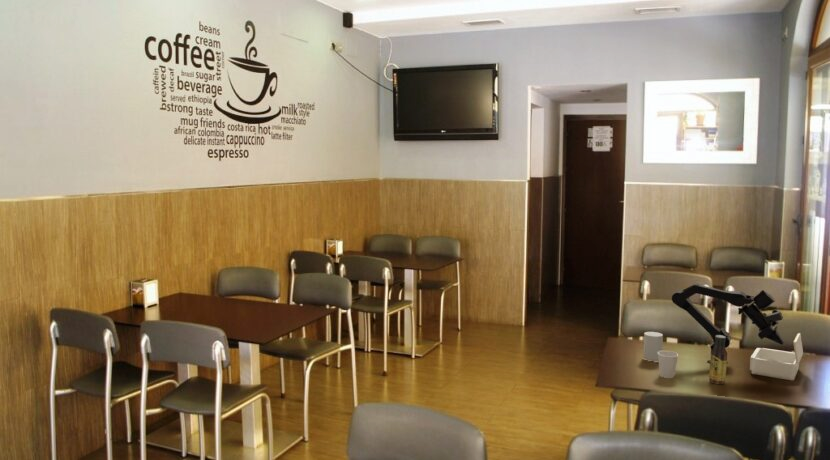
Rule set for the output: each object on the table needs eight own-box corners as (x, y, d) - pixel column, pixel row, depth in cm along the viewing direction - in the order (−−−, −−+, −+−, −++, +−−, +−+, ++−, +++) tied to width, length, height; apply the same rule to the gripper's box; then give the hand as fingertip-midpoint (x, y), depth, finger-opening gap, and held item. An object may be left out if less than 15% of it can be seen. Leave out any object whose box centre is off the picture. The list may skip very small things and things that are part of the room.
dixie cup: (667, 380, 285) (668, 357, 284) (652, 374, 293) (653, 352, 291) (681, 377, 289) (682, 354, 288) (666, 371, 296) (667, 349, 295)
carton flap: (793, 342, 284) (795, 342, 284) (797, 333, 298) (800, 333, 297) (796, 363, 284) (798, 363, 284) (800, 353, 298) (803, 353, 297)
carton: (749, 373, 294) (750, 357, 293) (756, 362, 310) (757, 347, 309) (793, 381, 284) (794, 364, 284) (798, 368, 300) (799, 353, 300)
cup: (661, 357, 317) (662, 332, 315) (661, 362, 309) (663, 337, 308) (643, 356, 319) (644, 331, 318) (643, 361, 312) (644, 335, 310)
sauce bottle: (706, 380, 286) (708, 334, 283) (720, 379, 286) (722, 333, 284) (714, 385, 279) (716, 338, 277) (728, 385, 280) (731, 337, 277)
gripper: (767, 308, 288) (796, 337, 283) (774, 300, 303) (801, 328, 298) (746, 324, 293) (774, 353, 288) (753, 315, 308) (780, 343, 303)
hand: (783, 344), depth 294 cm, fingers closed
